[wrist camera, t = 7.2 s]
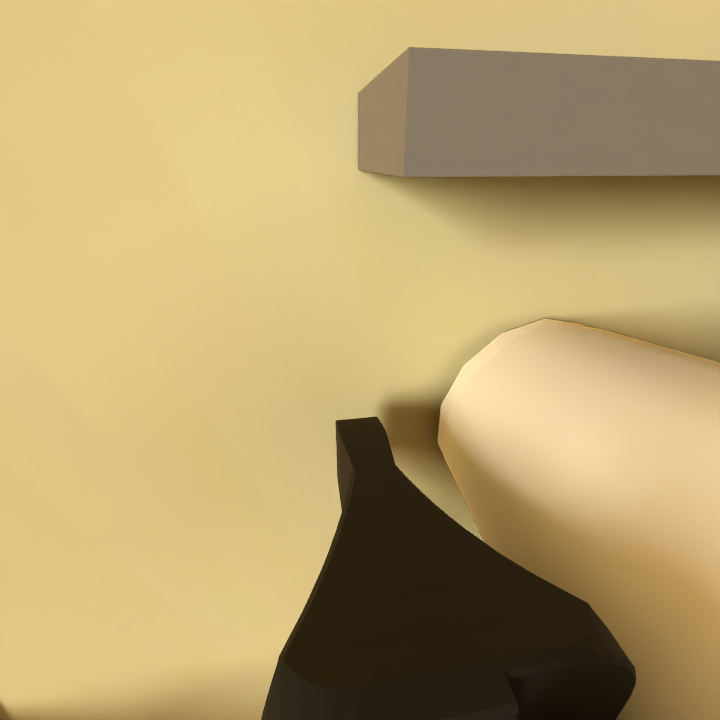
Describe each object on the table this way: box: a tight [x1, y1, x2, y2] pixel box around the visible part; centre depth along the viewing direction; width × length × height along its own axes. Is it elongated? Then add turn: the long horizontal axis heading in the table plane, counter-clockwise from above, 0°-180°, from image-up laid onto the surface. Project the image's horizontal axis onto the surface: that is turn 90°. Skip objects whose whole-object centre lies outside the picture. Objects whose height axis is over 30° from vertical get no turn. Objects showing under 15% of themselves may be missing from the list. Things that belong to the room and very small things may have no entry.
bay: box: [358, 47, 720, 177], centre depth 12 cm, size 17×16×4 cm
